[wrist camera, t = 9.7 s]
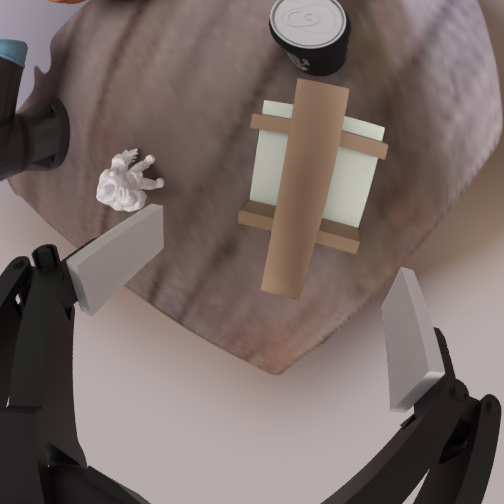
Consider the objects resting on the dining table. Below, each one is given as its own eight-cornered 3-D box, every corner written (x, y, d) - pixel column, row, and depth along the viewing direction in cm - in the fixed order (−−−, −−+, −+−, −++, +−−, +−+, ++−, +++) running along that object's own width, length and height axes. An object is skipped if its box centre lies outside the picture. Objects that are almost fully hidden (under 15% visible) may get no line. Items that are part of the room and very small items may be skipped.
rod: (273, 260, 33) (260, 289, 28) (305, 86, 22) (297, 78, 17) (306, 269, 32) (298, 300, 27) (345, 95, 22) (349, 88, 17)
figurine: (186, 171, 36) (131, 198, 26) (175, 202, 39) (123, 236, 29) (133, 144, 36) (73, 162, 26) (125, 173, 39) (70, 197, 29)
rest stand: (248, 220, 37) (235, 235, 33) (266, 100, 29) (254, 97, 24) (350, 247, 34) (351, 266, 30) (383, 127, 26) (391, 129, 22)
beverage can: (347, 78, 25) (354, 56, 15) (290, 75, 26) (265, 53, 16) (345, 29, 21) (348, -13, 11) (288, 27, 23) (263, -13, 13)
